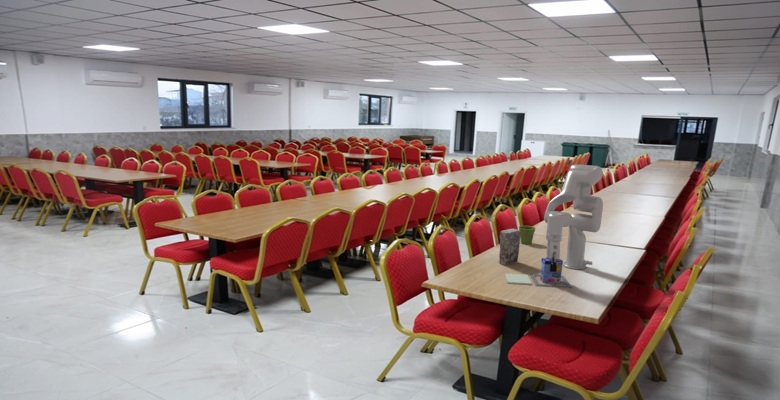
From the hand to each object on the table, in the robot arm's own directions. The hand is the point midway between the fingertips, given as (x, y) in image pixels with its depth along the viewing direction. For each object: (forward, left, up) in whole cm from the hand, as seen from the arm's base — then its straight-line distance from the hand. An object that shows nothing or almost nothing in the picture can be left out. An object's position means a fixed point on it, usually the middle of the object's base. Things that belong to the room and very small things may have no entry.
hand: (551, 268), depth 251 cm
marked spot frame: (0, 0, -7) cm, 7 cm away
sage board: (+17, +1, -7) cm, 18 cm away
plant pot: (0, -80, -7) cm, 80 cm away
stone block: (+18, -30, -7) cm, 36 cm away
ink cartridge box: (0, 0, -7) cm, 7 cm away
